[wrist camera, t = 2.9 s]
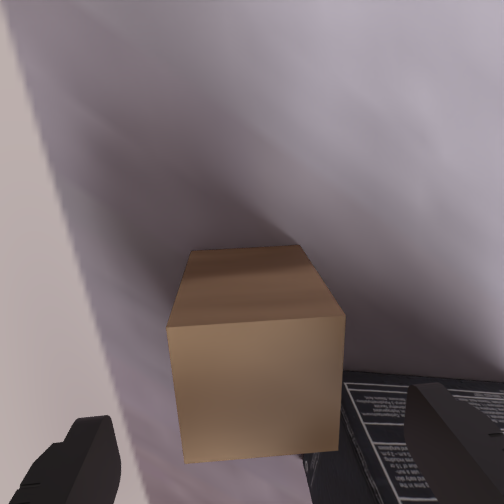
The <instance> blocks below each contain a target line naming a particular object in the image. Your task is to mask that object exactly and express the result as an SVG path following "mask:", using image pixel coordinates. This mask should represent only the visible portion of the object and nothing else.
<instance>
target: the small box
mask: <svg viewBox="0 0 504 504" xmlns="http://www.w3.org/2000/svg"><path fill="white" fill-rule="evenodd" d="M435 382H438V383H441V384H442V385H443V386H444V387H445V388H446V389H447V390H448V391H449V392H450V393H451V394H452V395H453V396H454V398H455V399H456V400H457V401H466V402H467V403H469V404H470V405H472V406H474V407H475V408H477V409H478V410H480V411H481V412H483V413H485V414H486V415H487V416H488V417H489V418H490V419H491V420H492V421H493V422H494V423H495V424H496V425H497V426H498V427H499V428H500V429H501V430H502V431H503V434H504V383H496V382H482V381H468V380H455V379H443V378H429V377H416V376H402V375H389V374H376V373H363V372H349V371H343V374H342V391H341V409H340V426H339V444H338V451H327V452H316V453H304V458H303V466H304V469H305V473H306V477H307V482H308V486H309V490H310V494H311V499H312V503H313V504H439V502H438V500H437V499H436V497H435V495H434V494H433V492H432V490H431V489H430V487H429V485H428V483H427V482H426V480H425V478H424V477H423V475H422V473H421V472H420V470H419V468H418V467H417V465H416V463H415V462H414V460H413V458H412V457H411V455H410V453H409V451H408V448H407V446H406V442H405V438H404V419H405V409H406V399H407V390H408V387H409V386H410V385H416V384H425V383H435Z"/></svg>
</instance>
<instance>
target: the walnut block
mask: <svg viewBox="0 0 504 504" xmlns="http://www.w3.org/2000/svg"><path fill="white" fill-rule="evenodd" d="M345 321H346V315H345V313H344V312H343V310H342V309H341V307H340V306H339V304H338V303H337V301H336V300H335V298H334V297H333V295H332V294H331V292H330V291H329V289H328V288H327V286H326V285H325V283H324V281H323V280H322V278H321V277H320V275H319V274H318V272H317V271H316V269H315V268H314V266H313V265H312V263H311V262H310V260H309V259H308V257H307V256H306V254H305V252H304V251H303V249H302V248H301V246H300V245H288V246H270V247H252V248H234V249H216V250H198V251H191V253H190V256H189V259H188V262H187V265H186V268H185V271H184V274H183V278H182V281H181V284H180V287H179V290H178V293H177V296H176V299H175V302H174V305H173V308H172V311H171V314H170V317H169V320H168V323H167V326H166V331H167V338H168V346H169V353H170V360H171V368H172V375H173V382H174V390H175V397H176V404H177V412H178V419H179V426H180V434H181V441H182V448H183V456H184V463H185V464H189V463H200V462H212V461H224V460H235V459H247V458H258V457H270V456H281V455H293V454H304V453H316V452H327V451H338V444H339V426H340V409H341V391H342V374H343V356H344V339H345Z"/></svg>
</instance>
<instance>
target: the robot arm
mask: <svg viewBox="0 0 504 504" xmlns="http://www.w3.org/2000/svg"><path fill="white" fill-rule="evenodd" d="M404 438H405V442H406V446H407V448H408V451H409V453H410V455H411V457H412V458H413V460H414V462H415V463H416V465H417V467H418V468H419V470H420V472H421V473H422V475H423V477H424V478H425V480H426V482H427V483H428V485H429V487H430V489H431V490H432V492H433V494H434V495H435V497H436V499H437V500H438V502H439V504H504V434H503V431H502V430H501V429H500V428H499V427H498V426H497V425H496V424H495V423H494V422H493V421H492V420H491V419H490V418H489V417H488V416H487V415H486V414H485V413H483V412H481V411H480V410H478V409H477V408H475V407H474V406H472V405H470V404H469V403H467V402H466V401H457V400H456V399H455V398H454V396H453V395H452V394H451V393H450V392H449V391H448V390H447V389H446V388H445V387H444V386H443V385H442V384H441V383H438V382H435V383H425V384H416V385H410V386H409V387H408V390H407V399H406V409H405V419H404ZM120 476H121V459H120V455H119V450H118V446H117V442H116V437H115V433H114V428H113V424H112V420H111V418H110V416H108V415H104V416H94V417H85V418H78V419H76V420H75V422H74V423H73V425H72V427H71V428H70V430H69V432H68V434H67V436H66V438H65V439H64V441H63V442H60V443H53V444H52V445H51V446H50V447H49V448H48V449H47V450H46V451H45V452H44V453H43V454H42V455H41V456H40V457H39V458H38V459H37V460H36V461H35V462H34V463H33V464H32V466H31V467H30V469H29V471H28V472H27V474H26V476H25V478H24V479H23V481H22V482H21V484H20V488H19V490H17V491H16V492H15V494H14V496H13V497H12V499H11V501H10V502H9V504H113V503H114V500H115V497H116V493H117V490H118V487H119V482H120Z"/></svg>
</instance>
